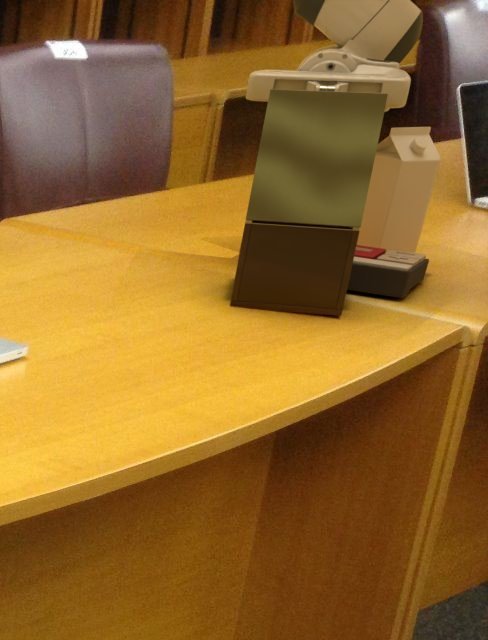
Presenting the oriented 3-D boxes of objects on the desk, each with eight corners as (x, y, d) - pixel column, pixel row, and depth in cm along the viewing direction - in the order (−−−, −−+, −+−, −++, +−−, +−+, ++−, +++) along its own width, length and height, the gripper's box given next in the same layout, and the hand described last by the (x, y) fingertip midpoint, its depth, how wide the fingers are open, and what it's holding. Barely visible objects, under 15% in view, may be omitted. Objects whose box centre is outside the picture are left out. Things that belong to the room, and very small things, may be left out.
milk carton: (340, 254, 234) (373, 124, 225) (378, 252, 236) (412, 123, 227) (374, 265, 228) (410, 131, 219) (413, 263, 230) (449, 130, 221)
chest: (235, 286, 214) (249, 207, 210) (341, 295, 209) (358, 214, 205) (229, 306, 203) (244, 223, 198) (341, 316, 198) (359, 230, 193)
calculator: (431, 253, 216) (411, 266, 205) (422, 284, 218) (402, 298, 207) (349, 241, 222) (325, 253, 211) (341, 271, 224) (317, 285, 213)
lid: (270, 90, 195) (270, 89, 195) (387, 94, 190) (388, 93, 190) (245, 220, 199) (245, 219, 198) (360, 227, 194) (360, 227, 193)
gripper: (251, 57, 217) (247, 65, 205) (411, 62, 209) (416, 70, 198) (243, 104, 219) (238, 114, 208) (400, 111, 212) (404, 122, 201)
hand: (326, 93), depth 203 cm, fingers closed
